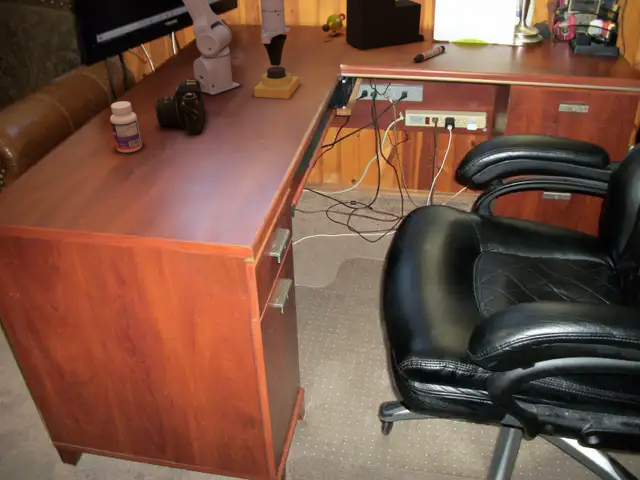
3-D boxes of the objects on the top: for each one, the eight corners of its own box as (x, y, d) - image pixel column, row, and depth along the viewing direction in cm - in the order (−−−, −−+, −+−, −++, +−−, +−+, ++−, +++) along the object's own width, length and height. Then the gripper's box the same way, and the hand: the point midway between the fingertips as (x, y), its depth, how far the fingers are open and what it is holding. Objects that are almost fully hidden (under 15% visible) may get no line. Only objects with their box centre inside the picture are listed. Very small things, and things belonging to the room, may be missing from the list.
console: (288, 98, 157) (287, 83, 155) (254, 96, 158) (253, 81, 156) (299, 84, 166) (298, 69, 164) (267, 82, 167) (266, 68, 165)
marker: (439, 51, 189) (439, 44, 188) (444, 52, 188) (445, 45, 187) (410, 63, 180) (410, 56, 179) (416, 64, 179) (416, 57, 178)
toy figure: (333, 42, 200) (333, 21, 196) (317, 41, 202) (317, 20, 198) (351, 29, 214) (351, 9, 210) (336, 28, 216) (336, 8, 212)
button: (282, 80, 158) (282, 72, 157) (265, 79, 159) (264, 71, 158) (287, 74, 162) (287, 66, 160) (270, 73, 162) (270, 66, 161)
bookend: (406, 33, 208) (410, -43, 195) (424, 40, 200) (430, -39, 187) (345, 42, 200) (345, -36, 187) (361, 50, 192) (362, -31, 179)
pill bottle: (119, 143, 135) (110, 100, 130) (144, 142, 135) (136, 99, 130) (114, 153, 130) (104, 109, 125) (140, 152, 131) (131, 108, 125)
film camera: (150, 115, 148) (143, 74, 143) (200, 107, 153) (195, 67, 147) (166, 142, 135) (159, 98, 129) (221, 132, 139) (216, 89, 134)
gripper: (280, 17, 144) (283, 74, 152) (296, 3, 156) (297, 57, 164) (251, 16, 146) (255, 72, 153) (269, 2, 158) (272, 56, 165)
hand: (275, 64), depth 158 cm, fingers closed
